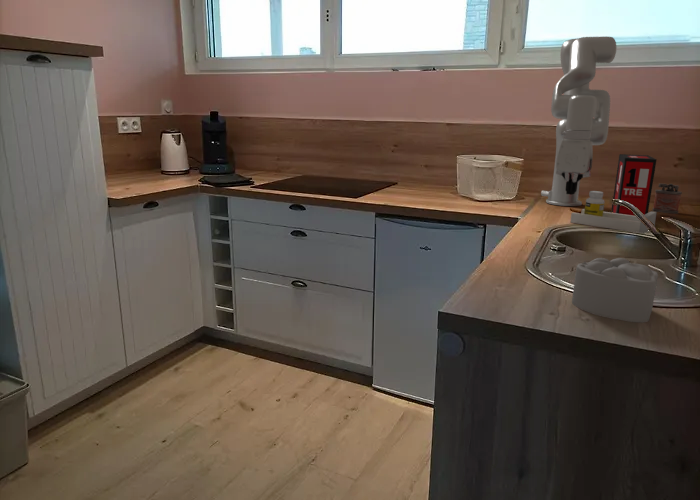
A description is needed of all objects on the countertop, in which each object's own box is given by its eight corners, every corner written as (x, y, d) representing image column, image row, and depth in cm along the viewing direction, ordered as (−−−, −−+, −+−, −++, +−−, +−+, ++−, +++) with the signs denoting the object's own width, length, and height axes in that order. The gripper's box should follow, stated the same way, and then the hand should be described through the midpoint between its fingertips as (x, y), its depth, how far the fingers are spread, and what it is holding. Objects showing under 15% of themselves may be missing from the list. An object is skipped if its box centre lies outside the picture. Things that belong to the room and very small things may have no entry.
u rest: (570, 222, 172) (572, 206, 170) (582, 217, 179) (584, 202, 178) (644, 233, 158) (647, 216, 157) (653, 228, 165) (656, 212, 164)
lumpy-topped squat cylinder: (647, 325, 91) (655, 276, 88) (565, 309, 97) (571, 262, 95) (653, 307, 99) (661, 262, 97) (577, 293, 106) (583, 250, 104)
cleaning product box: (611, 211, 192) (619, 154, 187) (639, 213, 190) (648, 155, 184) (616, 219, 177) (625, 158, 172) (646, 222, 175) (656, 159, 169)
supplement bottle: (579, 221, 173) (583, 191, 170) (589, 220, 176) (593, 190, 173) (595, 225, 169) (599, 193, 166) (605, 223, 172) (609, 192, 169)
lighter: (678, 212, 192) (683, 184, 189) (677, 213, 189) (683, 185, 187) (652, 209, 196) (657, 182, 194) (651, 211, 193) (656, 183, 191)
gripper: (549, 135, 173) (543, 192, 177) (598, 137, 163) (590, 198, 168) (558, 134, 178) (552, 190, 183) (606, 137, 168) (598, 195, 173)
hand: (570, 193), depth 175 cm, fingers closed
